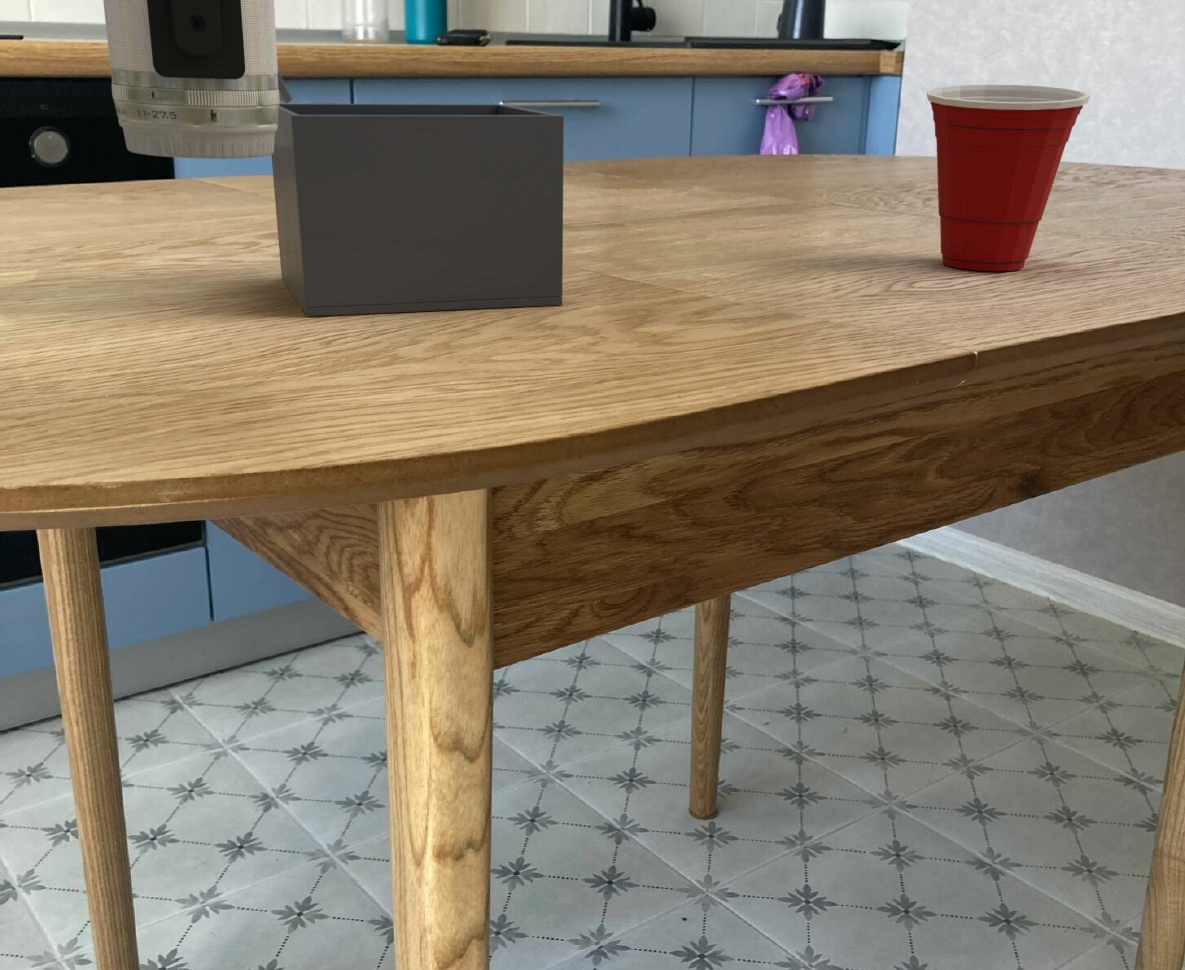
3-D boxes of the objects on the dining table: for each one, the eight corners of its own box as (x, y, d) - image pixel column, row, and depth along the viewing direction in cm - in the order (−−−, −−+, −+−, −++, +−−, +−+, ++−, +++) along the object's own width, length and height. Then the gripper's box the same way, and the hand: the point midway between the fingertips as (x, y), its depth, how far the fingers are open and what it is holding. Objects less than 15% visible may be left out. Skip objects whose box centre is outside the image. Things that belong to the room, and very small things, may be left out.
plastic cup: (894, 271, 88) (915, 86, 83) (917, 250, 97) (937, 82, 92) (1056, 283, 85) (1088, 91, 80) (1064, 261, 94) (1093, 87, 89)
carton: (306, 316, 70) (291, 115, 66) (281, 277, 81) (267, 103, 77) (562, 305, 75) (564, 115, 70) (505, 269, 86) (503, 104, 81)
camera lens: (243, 163, 47) (226, -76, 44) (87, 153, 48) (59, -82, 44) (306, 150, 52) (296, -63, 49) (166, 141, 53) (146, -69, 50)
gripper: (37, -456, 48) (96, 61, 55) (-1, -663, 33) (87, 82, 40) (241, -425, 50) (271, 67, 57) (292, -606, 35) (323, 88, 43)
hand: (195, 68), depth 49 cm, fingers closed on camera lens, 6 cm apart
